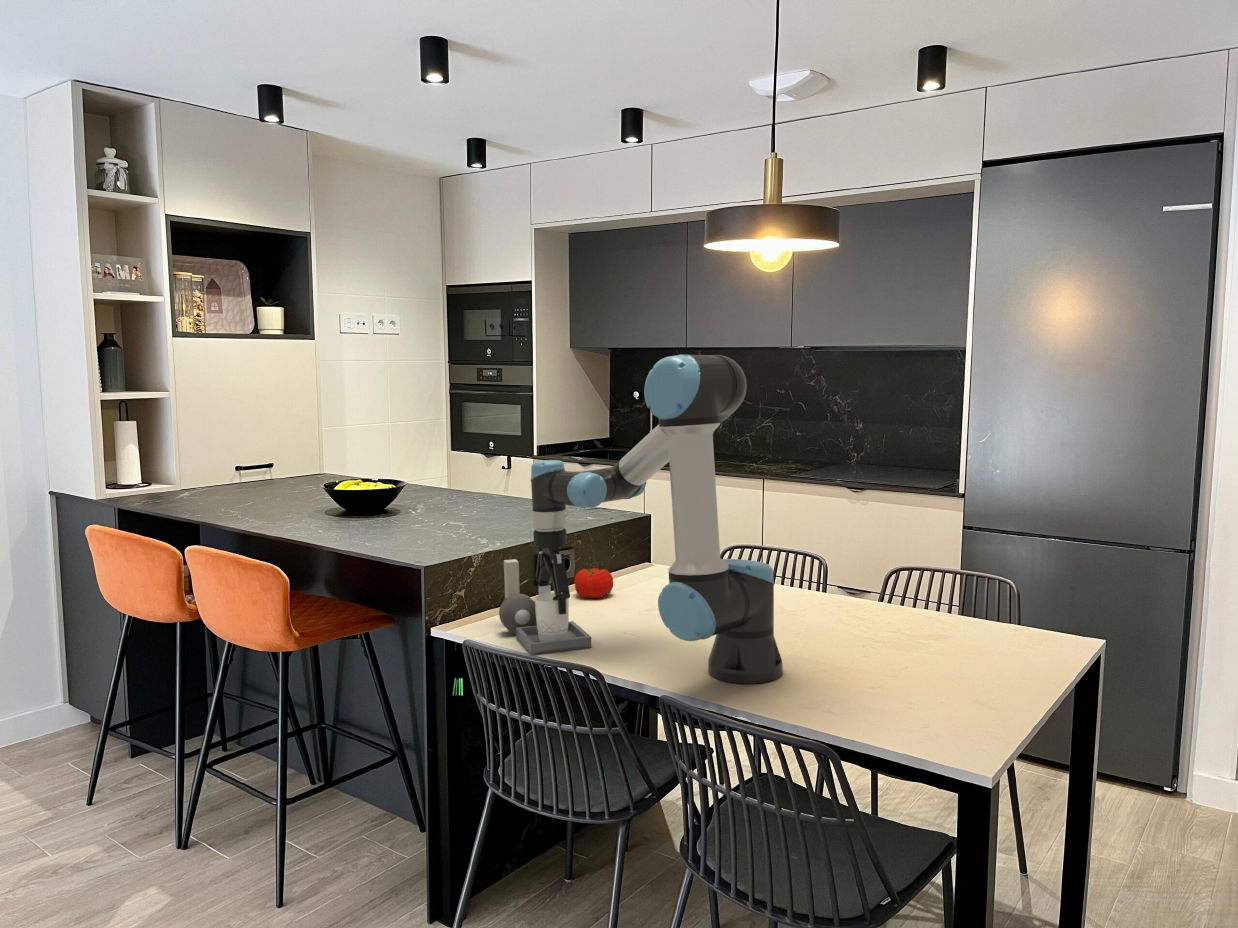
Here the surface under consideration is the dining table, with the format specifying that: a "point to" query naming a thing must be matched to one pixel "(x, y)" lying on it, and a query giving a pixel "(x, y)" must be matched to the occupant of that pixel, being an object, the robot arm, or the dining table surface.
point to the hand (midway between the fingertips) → (553, 620)
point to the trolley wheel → (515, 601)
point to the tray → (535, 647)
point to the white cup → (548, 619)
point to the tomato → (593, 583)
